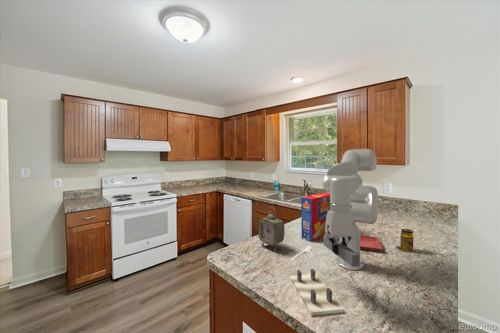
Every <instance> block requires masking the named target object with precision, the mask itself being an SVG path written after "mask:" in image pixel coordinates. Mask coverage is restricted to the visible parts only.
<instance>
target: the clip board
mask: <svg viewBox="0 0 500 333" xmlns="http://www.w3.org/2000/svg"><path fill="white" fill-rule="evenodd" d="M288 277H289V279H290V281H291V283H292V285H293V286H294V288H295V290H296V292H297V294H298V295H299V297H300V299H301V300H302V302H303V303H304V306H305V307H306V309H307V311H308V312H309V315H311V317H314V316H323V315H331V314H332V315H333V314H340V313H344V312H345V308H344V306H342V304H341V303H340V302H339V301H338V300H337V298H336V297H335V296H334V294H333V291H332V289H331V288H330V287H327V286H326V285H325V283H324V282H323V281H322V280H321V279H320V277H319V276H318V275H317V273H316V270H315V269H314V268H310V272H307V273H306V272H304V273H303V272H302V271H301V270H300V269H297V271H296V274H295V273H294V274H293V273H292V274H289V276H288Z"/></svg>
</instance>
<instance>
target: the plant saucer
mask: <svg viewBox="0 0 500 333" xmlns="http://www.w3.org/2000/svg"><path fill="white" fill-rule="evenodd" d="M383 249H384V248H383V245H382V244H381V242H380V240H379V238H378V237H376V236H370V235H369V236H368V235H367V236H366V235H361V234H360V251H361V250H363V251H368V252H369V251H370V252H378V253H379V252H382V250H383Z"/></svg>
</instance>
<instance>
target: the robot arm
mask: <svg viewBox="0 0 500 333" xmlns="http://www.w3.org/2000/svg"><path fill="white" fill-rule="evenodd" d="M377 166H378V161H377V156H376V153H375V151H374V150H372V149H370V148H354V149H348V150H346V151H345V152H344V153H343V155H342V158H341V161H340V163H337V164H335V165H332V166H331V167H329V168H328V169H327V171H326V172H325V174H324V177H323V179H322V188H323V190H324V191H325V192H326V193H330V210H328V212H327V217H326V225H325V235H324V237H323V239H324V238H326V239H328V240H329V241H330V242H331V243H332V251H331V252H332V253H333V254H334V255H335V256H338V245H337V241H339V242H341V243H342V244H344V245H345V246H347V247H349V248H350V249H352V250H353V251H355V252H357V253H358V254H360V255H361V249H360V235H361V229H360V227H359V226H358V223H360V224H371V225H372V224H375V223H376V222H377V220H378V213H379V212H378V211H379V210H378V209H379V208H378V206H379V193H378V189H377V188H376V186H375V187H374V186H372V185H363V181H364V180H363V178H362V177H361V176H360V175H359V173H358V172H373V171H375V170H376V169H377ZM329 236H331V237H329ZM335 260H336V264H337V265H338V266H339V267H342V268H344V269H346V270H352V271H357V270H358V271H359V270H362V269H363V268H364V265H365V264H364V262H363V261H362V260H361V259H360V266H351V265H350V264H348V263H347V262H346V261H344V260H343V259H342V258H340V257H339V256H338V257H337V258H336V259H335Z"/></svg>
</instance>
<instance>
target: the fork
mask: <svg viewBox="0 0 500 333" xmlns="http://www.w3.org/2000/svg"><path fill="white" fill-rule="evenodd" d="M312 248H313V246H311V245H307V247H306V248H305V249H303V250H302V251H301V252H299V253H298V254H296V255H295V256H294V257H292V258H291V259H290V260H291V261H292V260H294V259H296V258H298V257H300V256H302V254H304V253H309V252H310V251H311V249H312ZM305 250H306V251H305Z"/></svg>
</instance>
